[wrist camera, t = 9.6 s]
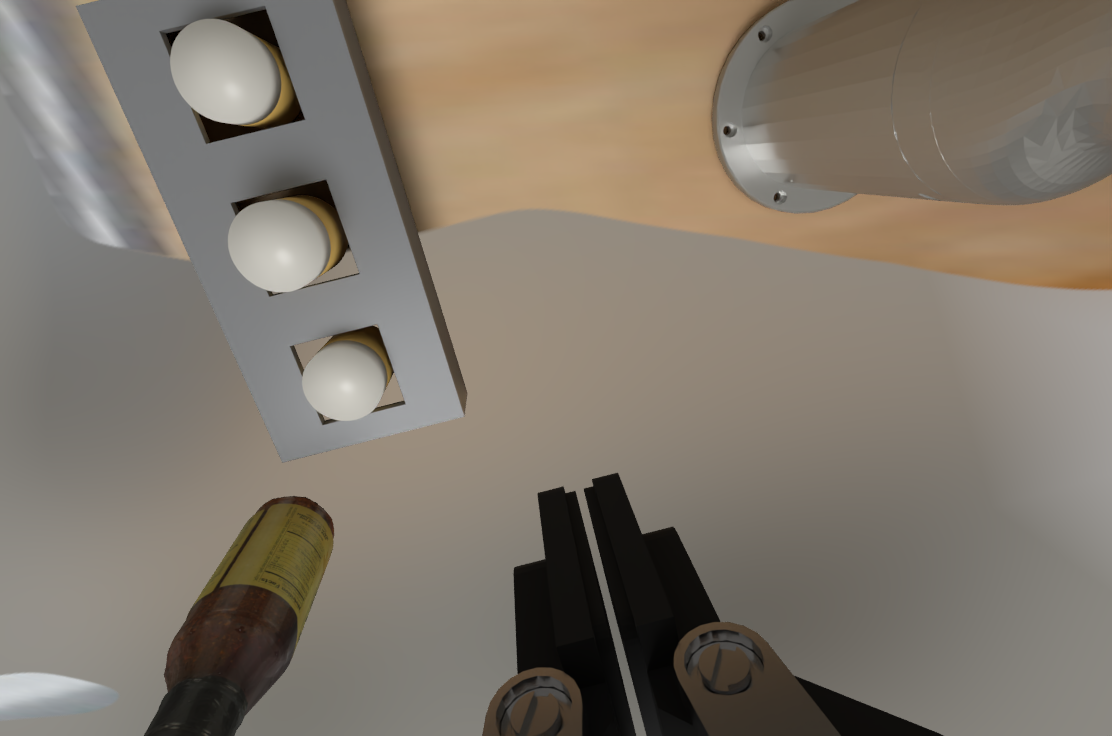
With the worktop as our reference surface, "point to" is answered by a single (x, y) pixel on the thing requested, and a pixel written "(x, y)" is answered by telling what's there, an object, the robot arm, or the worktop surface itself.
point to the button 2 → (348, 375)
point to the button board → (279, 164)
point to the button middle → (286, 242)
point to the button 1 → (232, 75)
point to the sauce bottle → (245, 620)
